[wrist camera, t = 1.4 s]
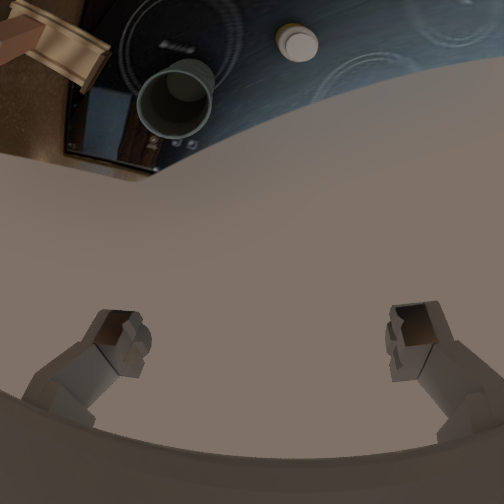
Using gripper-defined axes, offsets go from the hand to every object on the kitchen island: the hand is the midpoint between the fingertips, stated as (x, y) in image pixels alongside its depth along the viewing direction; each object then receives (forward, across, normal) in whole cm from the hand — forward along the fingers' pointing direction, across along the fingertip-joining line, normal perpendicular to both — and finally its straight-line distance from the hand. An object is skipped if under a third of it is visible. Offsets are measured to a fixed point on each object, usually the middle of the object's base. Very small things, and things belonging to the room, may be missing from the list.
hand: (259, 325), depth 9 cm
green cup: (+44, +15, -6) cm, 47 cm away
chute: (+38, +37, -23) cm, 58 cm away
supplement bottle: (+44, -2, -11) cm, 46 cm away
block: (+36, +40, -26) cm, 60 cm away
